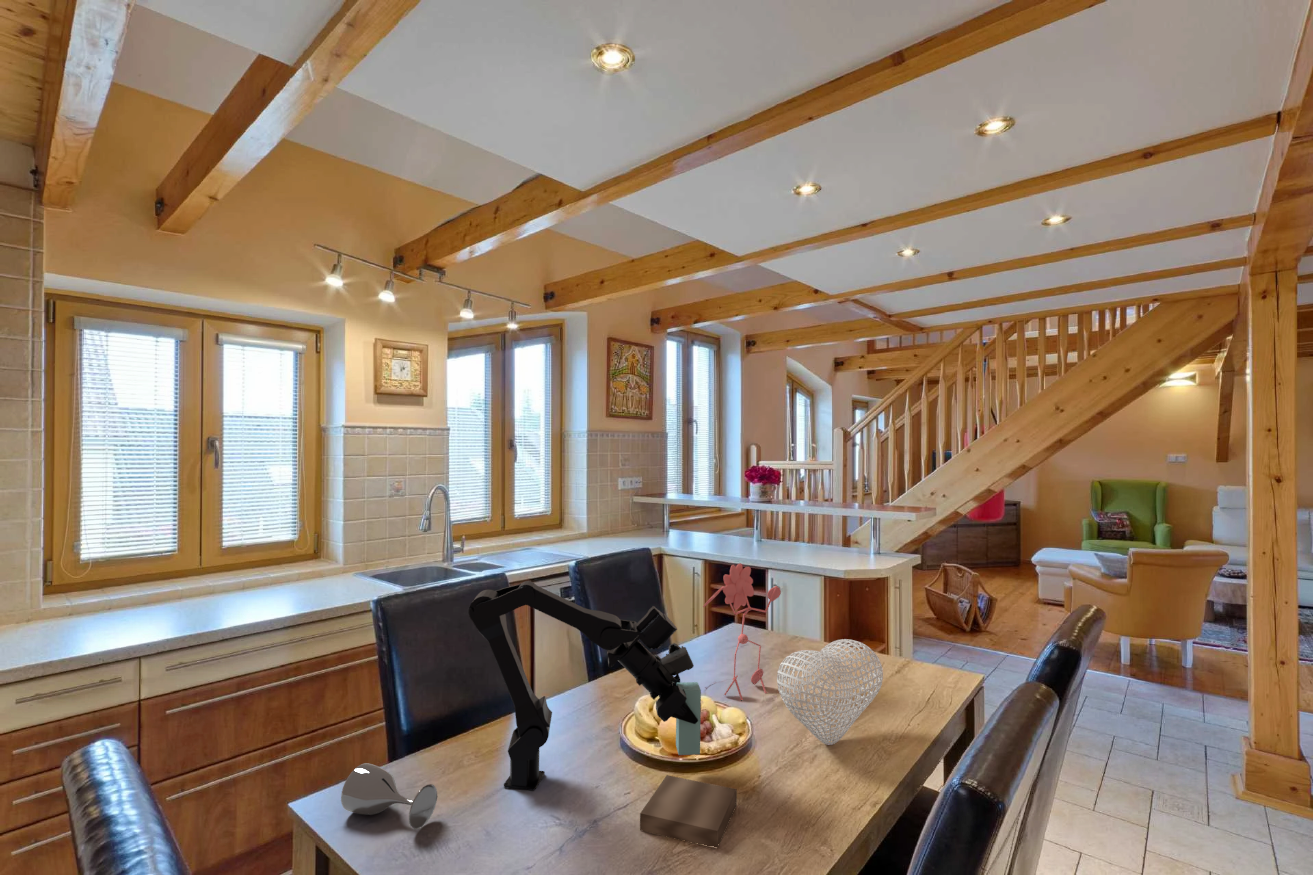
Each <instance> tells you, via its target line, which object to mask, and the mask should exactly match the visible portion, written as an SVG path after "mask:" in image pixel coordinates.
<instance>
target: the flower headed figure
mask: <svg viewBox="0 0 1313 875" xmlns="http://www.w3.org/2000/svg"><path fill="white" fill-rule="evenodd" d="M751 572H752V569H751V567H750V566H745V567H744V568H743V564H742V563H741V562H740V563H737V565H735V564H732V565H731V566H730V569H729V574H724V575H723V579H722V580H723V583H724V585H725V586H721V587H720V588H719V589H718V590H716V591H715V592H714V593H713V594H712V596H711V597H710V598H708V600H707V601H706V602H705V603H704V604H703V606H702V607H703V608H705V607H706V606H707V605H709V603H711V602H712V601H713V600H714V599H715V598H716V597H717V596H718V595H719V594H720V593H721V591H722V592H723V594H724V595H725V598H724V602H725V604H726V605H729V606H730V608H731V611H732V613H733V615H734V616H736V615H739V614H741V613H743V612H744V613H743V615H742V623H741V633H740V635H738V637H737V641H738V642H737V646H736V649H735V652H734V657H733V658H734V660H733V678H732V681H731V683H730V684H729V686H728V688H727V690H725V693H724V694H723V696H724V695H725V696H727V694H728V692H729V690H730V689H731V687H732V686H733V685H734V683H735V686H736V688H737V691H738V695H739V698H740V701H741V700H743V701H744V698H743V696H742V692H741V690H740V687H739V683H738V680H737V678H738V674H737V675H736V666H737V665H736V662H737V653H738V649H739V646H740V644H741V645H745V644H747V643H748V642H749V643H751V644H752V645H753V644H754V645H756V646H758V647H759V650H758V660H757V669H756V670H755V671H754V672H753V674H752V675H751V677H750V682H751V683H752V685H755V686H756V685H757V684H758V683H759V681H760V682H761V686H762V689H763V693H765V694H767V690H766V686H765V684H764V680H763V676H764V674H765V673H764V670H763V668H760V660H761V651H762V649H761V648H762V646H761V644H758V643H757V642H754V641H751V640H749V637H748V635H747V634H745V633H744V629H745V628H744V626H745V619H746V615H747V614H748V612H749V611H757V612H759V613H760V612H761V613H767V612H768V610H769V607H770V605H771V603H772V602H774V601H775V600H777V599H778V598H779V597H780V596H781V595H782V594H781V593H782V590H781V588H780V587H779V586H777V585H775V586H774V587H771V588H770V589H769V590H768V592H767V598H768V603H767V605H766V607H765V610H764V609H760V608H755V607H751V606H750V602H749V599H748V597H750V598H751V597H753V596H754V595H755V590H754V587H753V585H752V584H754V579H753V578H752V577H751V576H750V575H751ZM746 605H747V607H745V606H746ZM741 606H742V607H745V608H743V609H741V610H738V609H740V607H741ZM735 610H736V611H737V610H738V611H737V612H736V611H735Z"/></svg>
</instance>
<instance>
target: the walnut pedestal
mask: <svg viewBox="0 0 1313 875" xmlns="http://www.w3.org/2000/svg"><path fill="white" fill-rule="evenodd" d="M737 792H738V791H737V788H734V787H729V786H723V785H718V784H712V783H707V782H703V781H698V780H695V779H693V780H692V779H687V778H683V777H678V776H673V775H668V774H667V775H666V776H664V778H663V780H662V781H661V783H660V784H659V786H658V787H657V788H656V790H655V791H654V793H653V794H652V795H651V797H650V799H649V800H648V801H647V803H646V804H645V805H644V806H643V808H642V809H641V812H640V813H639V831H641V832H645V833H649V834H653V835H657V836H661V837H665V838H670V839H674V838H675V839H674V840H678V839H679V841H682V840H685V841H684V842H687V843H690V842H692V843H691V844H695V843H698V844H697V845H699V844H704V845H707V846H714V847H718V848H719V846H718V844H719V843H720V844H721V841H722V839H723V837H722V836H724V835H723V834H725V832H726V830H727V828H728V826H727V825H729V823H730V821H731V819H732V817H733V814H734V812H733V811H735V810H734V809H736V808H735V807H737V799H738V798H737ZM732 813H733V814H732ZM731 816H732V817H731ZM730 818H731V819H730ZM729 820H730V821H729ZM728 822H729V823H728ZM726 827H727V828H726ZM725 829H726V830H725ZM724 831H725V832H724ZM666 836H667V837H666ZM721 838H722V839H721ZM720 844H719V845H720ZM707 846H706V847H707Z"/></svg>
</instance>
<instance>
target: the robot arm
mask: <svg viewBox="0 0 1313 875" xmlns="http://www.w3.org/2000/svg"><path fill="white" fill-rule="evenodd" d="M524 606H528V607H531V609H535V611H538V612H541V613H543V614H545V615H548V616H549V617H551V618H554V619H556V620H558V621H560V622H562V623H564V624H565V625H568V626H570V627H571V628H575V629H577V630H578V631H580V632H581V633H582V634H583V635H584V636H585V637H586V638H587V639H588V640H590V641H591V642H592V643H594V644H595V645H596V646H598V647H599V648H601V649H602V650H605V651H607V664H608V665H607V666H608V668H612V667H614V666H615V664H616V663H617V662H619V664H620V665H622V666H623V667H624V669H625V670H626V671H627V672H628V673H630V674H631V676H632V677H633V678H634V679H635V683H636V684H637V685H638V686H639V687H641V686H642V687H644V689H645V690H647V691H648V693H649V696H650V698H651V699H652V700H653V701H655V700H656V699H657V698H658V699H657V700H656V701H655V710H656V714H657V715H656V716H657V717H658V718H659V719H660V720H662V722H663V723H665V722H667V721H668V720H669V719H670V718H673V719H676V718H677V719H680V720H683V721H686V722H689V723H692V724H696V723H697V722H698V719H697V717H696V716H695V714H694V713H693V711H692V710H691V709H690V707H689V706H688V704H687V703H686V699H687V698H686V693H685V691H684V689H683V690H682V689H681V688H680V687H679V686H677V683H680V682H681V677H680V674H682V673H683V672H686V671H689V670H691V669H693V668H694V663H693V660H692V658H691V656H690V654H689V652H688V650H687V647H685V646H684V645H681V646H679V645H678V644H677V643H675V642H673V643H672V644H669V645H668V653H665V656H663V657H660V656H659V655H657V654H653V653H652V652H650V650H656V649H657V650H658V649H660V648H661V647H662V646H663V645H664V644H665V642H667V640H668V639H670V638H671V637H672V636H673V635H674V633H676V632H677V630H678V628H677V626H676V625H675V623H674V622H672V620H671V618H669V617H668V616H667V614H666V613H663V612H662V611H661V610H659V609H658V608H657V607H656V606H654V605H652V607H650V608H649V609H648V611H647V612H646V614H645V615H644V616H643V617H642V618H641V619H640V620H639V621H637V622H636V621H635V620H628V619H621V618H619V616H617V615H615V614H612V613H609V612H605V611H602V610H596V609H589V608H586V607H583V606H581V605H578V604H576V603H575V602H572V601H571V600H568V599H566V598H564V597H562V596H560V595H558V594H556V593H553V592H551V591H550V590H547V589H545V588H543V587H541V586H539V585H537V584H536V583H534V582H533V581H531V580H526V581H523V582H521V583H519V584H515V585H510V586H507V587H503V588H500V589H497V590H494V589H485V590H482V591H480V592H479V593H478V594H477V595H476V596H475V597H474V599H473V600H472V602H471V603H470V605H469V607H468V611H467V612H468V617H469V619H470V621H471V622H472V624H473V626H474V627H475V628H476V630H477V631H478V633H479V634H480V635H481V637H483V638H484V639H485V640H486V641H487V643H488V645H489V648H490V650H491V652H492V653H491V654H493V657H494V659H495V663H496V665H497V667H498V670H499V671H500V674H501V677H502V679H503V683H504V684H505V686H506V689H507V692H508V694H509V697H510V700H511V701H512V704H513V707H514V708H513V709H514V714H515V723H516V727H515V729H513V732H512V734H511V738H510V742H509V746H508V749H507V753H508V757H509V761H510V762H509V764H510V765H509V770H510V771H509V772H510V773H509V777H508V778H507V779H506V780H505V782H504V783H503V788H506V789H507V788H508V789H517V790H518V789H519V790H531V791H534V790H536V789H537V787H538V786H539V785H540V782H541V781H542V779H543V778H544V776H545V774H546V772H545V770H540V748H542V747H543V746H544V745H545V744H546V743H547V741H548V739H549V736H550V728H551V721H552V715H553V711H552V710H551V709H550V708H549V706H548V703H547V698H546V696H545V695H544V696H542V697H540V698H538V696H536V695H535V693H534V692H533V690H532V687H531V685H530V683H529V680H528V677H527V675H526V672H525V670H524V668H523V664H522V663H521V660H520V657H519V655H518V653H517V650H516V648H515V646H514V643H513V641H512V638H511V635H510V632H509V630H508V626H507V624H508V622H507V616H506V614H508V613H510V612H513V611H515V610H516V609H518V608H521V607H524ZM639 640H640V641H641V642H640V641H639ZM644 645H645V646H644ZM646 647H647V648H648V649H650V650H648V649H647V648H646Z"/></svg>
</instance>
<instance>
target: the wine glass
mask: <svg viewBox="0 0 1313 875" xmlns="http://www.w3.org/2000/svg"><path fill="white" fill-rule="evenodd" d="M340 802H341V805H342V808H343V809H344V810H345V811H347V812H349V813H354V814H357V815H363V816H366V815H367V816H368V815H370V816H373V815H377V814H379V813H382V812H383V811H385V810H386V809H388V808H389V807H391V806H392V805H395V804H402V805H408V806H410V809H409V813H408V824H409V826H410V827H411V829H413V830H414V831H415V830H420V829H421V828H420V827H422V826H423V825H424V824H425V825H426V824H427V823H428V822H429V820H430V819H431V817H432V815H433V814H434V811H435V809H436V805H437V802H438V791H437V787H436V786H435V785H434V784H433V783H429V784H426V785H424V786H423V787H422V788H420V789H419V790H418V792H417V793H416V795H415V797H414V799H413V800H412V799H410V798H408V797H405V796H403V795H401V793H400V792H399V791H398V787H397V782H396V779H395V777H394V776H393V775H392V774H391V773H390V771H388V770H386V769H384V768H382V767H381V766H378V765H375V764H372V763H367V762H365V763H362V764H359V765H358V766H356V767H355V768H354V769H353V770H352V771H351V772H350V774H349V775H348V776H347V778H346V780H345V782H344V784H343V786H342V790H341V794H340ZM425 825H424V826H425ZM424 826H423V827H424ZM423 827H422V828H423ZM419 828H420V829H419Z"/></svg>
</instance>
